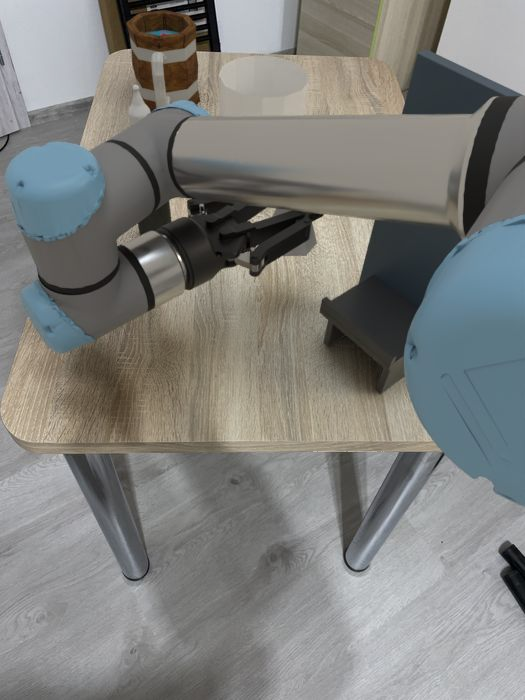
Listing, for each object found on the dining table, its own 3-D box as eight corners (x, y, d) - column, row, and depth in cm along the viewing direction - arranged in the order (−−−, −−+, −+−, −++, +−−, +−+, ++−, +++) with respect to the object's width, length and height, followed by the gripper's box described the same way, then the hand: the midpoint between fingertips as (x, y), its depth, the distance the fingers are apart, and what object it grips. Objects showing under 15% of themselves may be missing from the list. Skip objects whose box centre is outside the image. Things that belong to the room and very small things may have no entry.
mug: (140, 84, 120) (130, 8, 108) (201, 85, 120) (198, 11, 109) (129, 131, 108) (117, 52, 96) (197, 132, 108) (193, 54, 97)
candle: (173, 248, 87) (156, 94, 67) (141, 249, 86) (114, 95, 67) (172, 227, 90) (155, 75, 70) (141, 229, 89) (115, 75, 70)
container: (297, 154, 105) (308, 58, 91) (298, 199, 96) (310, 100, 82) (223, 150, 105) (222, 53, 91) (217, 195, 96) (215, 95, 82)
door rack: (387, 413, 69) (493, 163, 41) (303, 337, 76) (344, 80, 48) (452, 362, 75) (585, 111, 46) (368, 295, 82) (439, 44, 54)
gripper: (135, 247, 65) (281, 180, 75) (215, 329, 58) (366, 243, 68) (125, 195, 60) (286, 130, 69) (213, 279, 52) (379, 193, 62)
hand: (325, 186), depth 68 cm, fingers closed on flask, 3 cm apart
